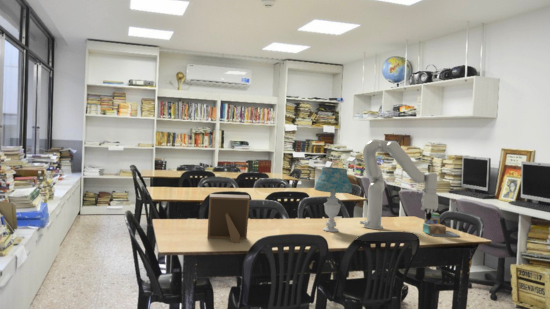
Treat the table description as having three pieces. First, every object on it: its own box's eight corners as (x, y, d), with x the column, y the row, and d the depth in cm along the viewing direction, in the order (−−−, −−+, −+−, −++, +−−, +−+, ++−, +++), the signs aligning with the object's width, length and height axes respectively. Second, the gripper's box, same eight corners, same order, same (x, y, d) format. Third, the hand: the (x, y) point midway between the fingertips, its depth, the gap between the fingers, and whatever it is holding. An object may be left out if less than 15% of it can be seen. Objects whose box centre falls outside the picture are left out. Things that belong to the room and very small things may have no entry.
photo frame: (207, 236, 263) (209, 192, 262) (245, 237, 267) (248, 193, 265) (207, 242, 249) (210, 196, 247) (248, 243, 252) (250, 197, 251)
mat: (433, 236, 298) (433, 234, 298) (422, 231, 314) (423, 229, 314) (460, 237, 300) (460, 235, 300) (448, 232, 315) (448, 230, 315)
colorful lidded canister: (439, 231, 316) (440, 209, 315) (425, 230, 318) (426, 208, 317) (437, 229, 325) (438, 208, 325) (423, 227, 327) (425, 206, 326)
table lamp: (355, 230, 303) (359, 169, 301) (339, 236, 283) (343, 170, 281) (322, 225, 316) (326, 166, 314) (305, 230, 296) (309, 167, 294)
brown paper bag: (428, 225, 301) (446, 226, 302) (423, 223, 309) (440, 224, 310) (428, 233, 301) (445, 234, 303) (422, 230, 309) (440, 231, 311)
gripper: (421, 191, 300) (419, 219, 301) (443, 192, 302) (441, 220, 302) (416, 190, 308) (415, 217, 308) (438, 191, 309) (436, 218, 310)
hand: (428, 219), depth 305 cm, fingers closed
